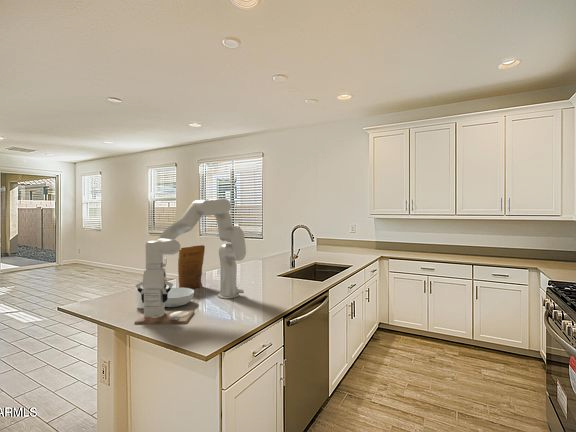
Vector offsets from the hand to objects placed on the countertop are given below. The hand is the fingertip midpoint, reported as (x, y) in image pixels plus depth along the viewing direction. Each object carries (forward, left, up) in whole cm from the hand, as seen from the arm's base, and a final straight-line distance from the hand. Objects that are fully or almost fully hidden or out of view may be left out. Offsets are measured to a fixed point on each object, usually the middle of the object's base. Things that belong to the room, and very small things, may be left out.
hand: (154, 301), depth 145 cm
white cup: (+12, -16, -8) cm, 22 cm away
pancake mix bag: (-3, -53, -8) cm, 54 cm away
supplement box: (0, 0, -6) cm, 6 cm away
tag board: (-6, +2, -8) cm, 10 cm away
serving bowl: (-3, -19, -8) cm, 21 cm away
